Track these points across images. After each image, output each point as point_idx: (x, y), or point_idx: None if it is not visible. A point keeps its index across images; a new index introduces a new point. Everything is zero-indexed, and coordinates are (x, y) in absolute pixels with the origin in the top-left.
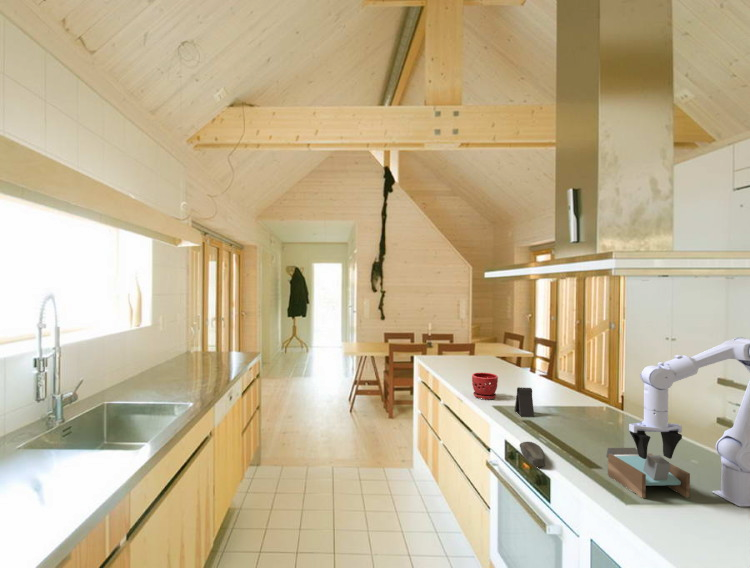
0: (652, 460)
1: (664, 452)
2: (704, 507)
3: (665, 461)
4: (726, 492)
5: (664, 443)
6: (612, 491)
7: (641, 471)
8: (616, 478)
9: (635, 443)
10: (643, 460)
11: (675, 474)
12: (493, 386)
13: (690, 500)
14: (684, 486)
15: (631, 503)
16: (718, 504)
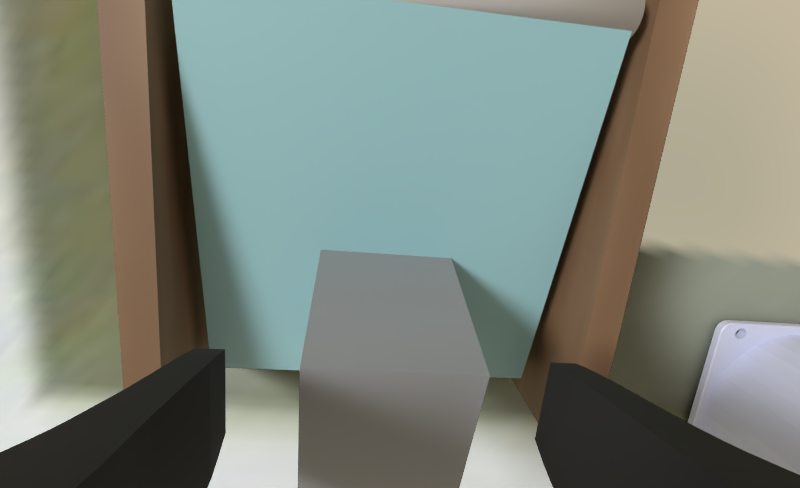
0: (299, 441)
1: (569, 399)
2: (493, 449)
3: (440, 464)
4: (730, 420)
5: (657, 483)
6: (54, 238)
7: (291, 259)
8: None
9: (44, 438)
10: (466, 104)
11: (556, 329)
12: None
13: (492, 383)
14: (522, 376)
15: (86, 387)
16: None
